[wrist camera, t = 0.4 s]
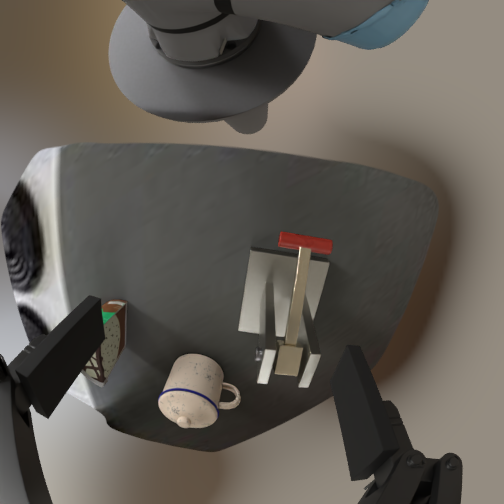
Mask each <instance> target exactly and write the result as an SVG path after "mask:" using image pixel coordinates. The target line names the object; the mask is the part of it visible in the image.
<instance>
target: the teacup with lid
mask: <svg viewBox="0 0 504 504" xmlns="http://www.w3.org/2000/svg"><path fill="white" fill-rule="evenodd" d="M223 378H224V375H223V371H222V369H221V367H220V366H219V365H218V364H217V363H216V362H215V361H214V360H212V359H211V358H209V357H206V356H204V355H200V354H186V355H183V356H181V357H179V358H178V359H177V360H176V361H175V363H174V365H173V367H172V370H171V372H170V375H169V377H168V380H167V382H166V385H165V387H164V390H163V392H162V393H161V394H160V396H159V399H158V402H159V407H160V410H161V411H162V413H163V414H164V415H165V416H166V417H167V418H169V419H170V420H172V421H173V422H175V423H177V424H178V425H179V426H181V427H183V428H188V427H192V428H202V427H207V426H209V425H211V424H213V423H214V422H215V421H216V419H217V418H218V415H219V410H218V408H220V409H232V408H235V407H236V406H238V405H239V403H240V399H241V396H240V392H239V390H238V389H237V388H236V387H235V386H234V385H232V384H228V383H223ZM221 389H226V390H230V391H232V392H233V393H234V394H235V396H236V399H235V400H234V401H232V402H219V400H220V395H221Z"/></svg>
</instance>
